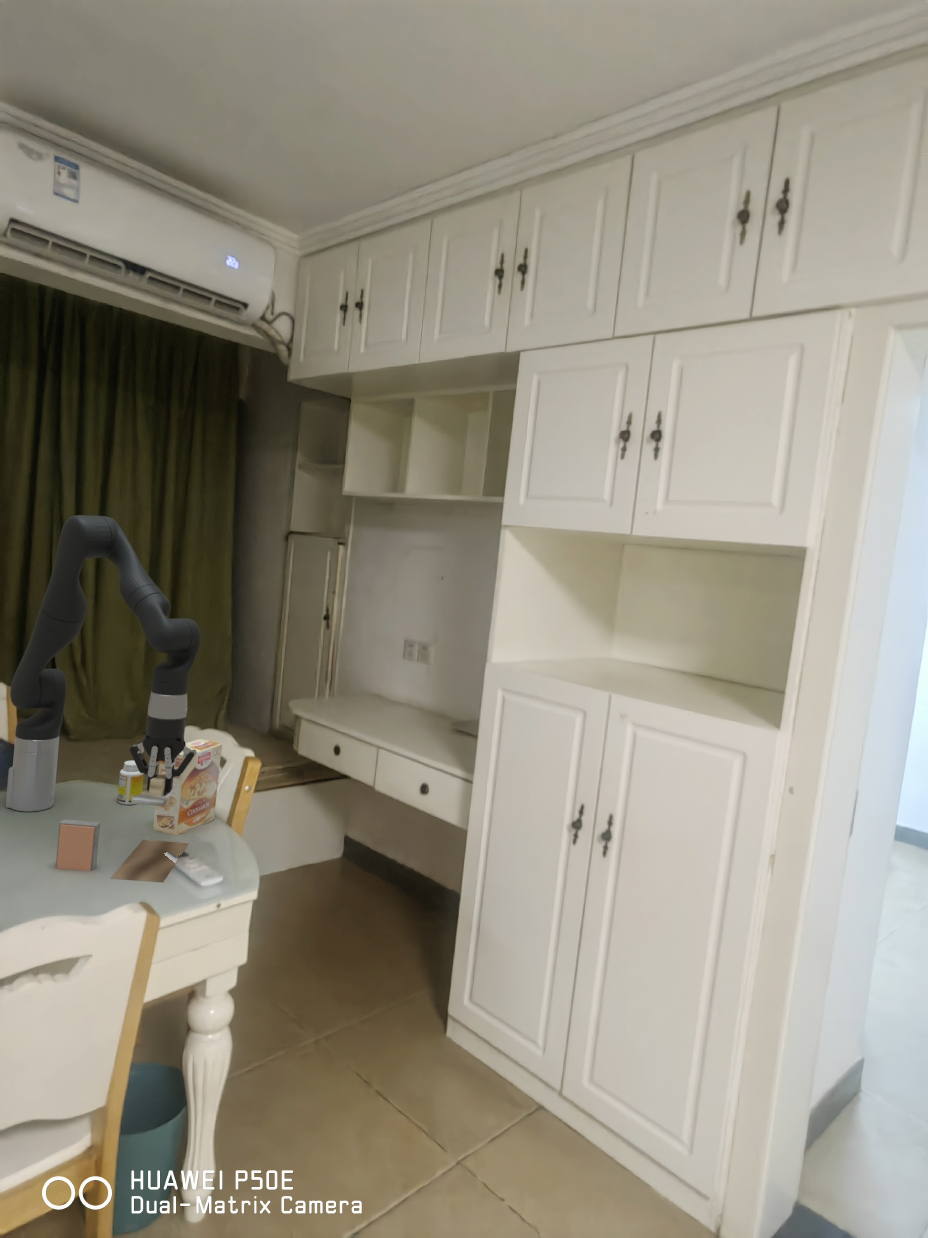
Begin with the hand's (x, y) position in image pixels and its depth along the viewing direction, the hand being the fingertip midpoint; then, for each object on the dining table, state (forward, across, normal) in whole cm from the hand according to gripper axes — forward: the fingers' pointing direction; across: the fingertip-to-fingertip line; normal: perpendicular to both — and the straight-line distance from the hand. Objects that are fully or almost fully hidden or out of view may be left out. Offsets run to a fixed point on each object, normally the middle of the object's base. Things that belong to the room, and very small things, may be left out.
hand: (159, 793), depth 158 cm
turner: (0, 0, -2) cm, 2 cm away
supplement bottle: (+15, -16, +34) cm, 40 cm away
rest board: (+15, 0, -1) cm, 15 cm away
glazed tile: (+15, -13, -7) cm, 21 cm away
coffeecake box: (+15, +1, +21) cm, 26 cm away
